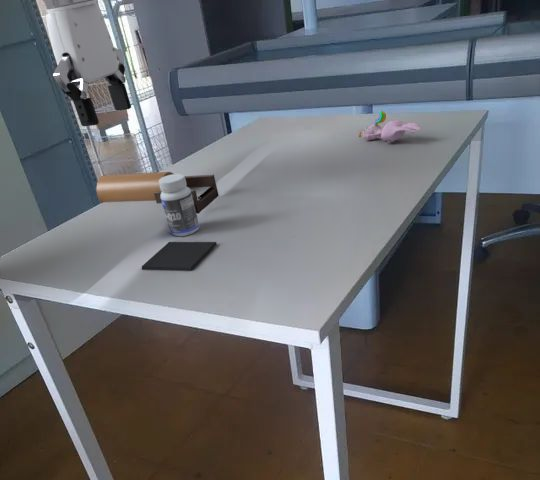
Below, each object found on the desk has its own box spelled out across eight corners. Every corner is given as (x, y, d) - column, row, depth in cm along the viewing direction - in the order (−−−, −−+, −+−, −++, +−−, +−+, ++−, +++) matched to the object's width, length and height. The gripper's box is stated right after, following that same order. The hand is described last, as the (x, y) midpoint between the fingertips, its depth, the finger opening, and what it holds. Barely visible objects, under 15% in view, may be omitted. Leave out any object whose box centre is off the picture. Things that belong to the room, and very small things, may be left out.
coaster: (142, 269, 77) (141, 266, 76) (170, 244, 82) (169, 241, 82) (191, 270, 74) (190, 267, 73) (216, 244, 79) (216, 241, 79)
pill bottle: (164, 235, 86) (149, 182, 81) (185, 223, 89) (171, 171, 84) (185, 238, 83) (170, 184, 78) (206, 226, 86) (193, 173, 81)
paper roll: (102, 211, 100) (92, 181, 97) (119, 200, 104) (110, 171, 101) (167, 210, 95) (158, 178, 92) (182, 198, 99) (174, 167, 96)
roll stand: (159, 214, 95) (153, 192, 92) (181, 196, 100) (175, 176, 98) (198, 213, 92) (193, 191, 89) (218, 195, 97) (214, 174, 95)
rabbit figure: (353, 149, 111) (406, 145, 99) (348, 118, 109) (402, 110, 96) (376, 140, 114) (431, 135, 101) (371, 109, 111) (427, 101, 99)
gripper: (84, -5, 90) (118, 106, 100) (11, 9, 78) (58, 133, 88) (120, -13, 87) (152, 102, 97) (51, 0, 75) (95, 130, 85)
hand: (107, 117), depth 92 cm, fingers open, 9 cm apart
